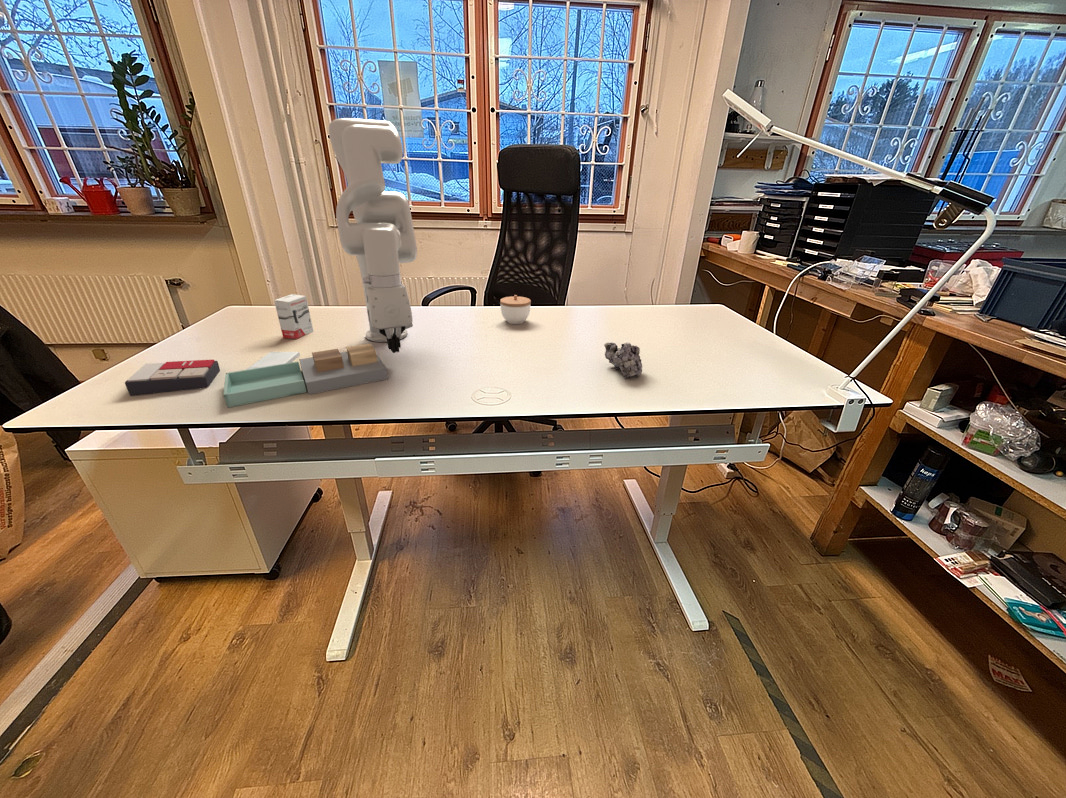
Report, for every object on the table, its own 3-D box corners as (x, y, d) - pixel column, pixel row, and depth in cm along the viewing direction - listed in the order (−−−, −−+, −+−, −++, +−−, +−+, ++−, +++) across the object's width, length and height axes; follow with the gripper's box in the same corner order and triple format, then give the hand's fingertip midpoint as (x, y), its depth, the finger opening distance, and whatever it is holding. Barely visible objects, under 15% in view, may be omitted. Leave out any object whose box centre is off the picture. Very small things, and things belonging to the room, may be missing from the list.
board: (301, 370, 109) (299, 359, 108) (373, 357, 118) (371, 347, 116) (308, 394, 97) (305, 382, 96) (388, 378, 106) (386, 367, 104)
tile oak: (348, 358, 109) (346, 347, 108) (372, 354, 112) (370, 343, 111) (352, 366, 105) (350, 354, 103) (377, 361, 107) (375, 350, 106)
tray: (229, 384, 101) (225, 373, 99) (301, 372, 108) (298, 361, 107) (227, 407, 91) (223, 395, 89) (306, 392, 98) (303, 380, 97)
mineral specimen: (599, 348, 117) (618, 326, 110) (628, 358, 120) (649, 336, 112) (600, 383, 110) (620, 362, 103) (631, 393, 113) (653, 372, 105)
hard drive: (269, 351, 117) (244, 369, 106) (299, 351, 118) (277, 369, 107) (270, 357, 118) (246, 375, 107) (300, 357, 119) (279, 375, 108)
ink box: (296, 339, 129) (287, 301, 124) (282, 338, 130) (272, 300, 125) (314, 331, 137) (306, 294, 131) (301, 329, 138) (292, 293, 132)
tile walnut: (314, 363, 105) (311, 352, 104) (339, 359, 108) (337, 348, 107) (317, 372, 101) (314, 360, 100) (344, 367, 104) (341, 356, 102)
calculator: (204, 374, 98) (122, 379, 93) (209, 391, 100) (129, 397, 95) (217, 357, 107) (143, 361, 102) (221, 373, 109) (149, 377, 104)
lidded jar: (499, 317, 155) (499, 291, 151) (528, 317, 156) (529, 291, 152) (501, 326, 146) (500, 299, 141) (531, 325, 147) (532, 299, 142)
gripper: (356, 286, 97) (368, 360, 105) (419, 281, 104) (426, 350, 112) (350, 280, 103) (362, 351, 111) (410, 275, 110) (418, 342, 118)
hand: (394, 350), depth 112 cm, fingers closed
